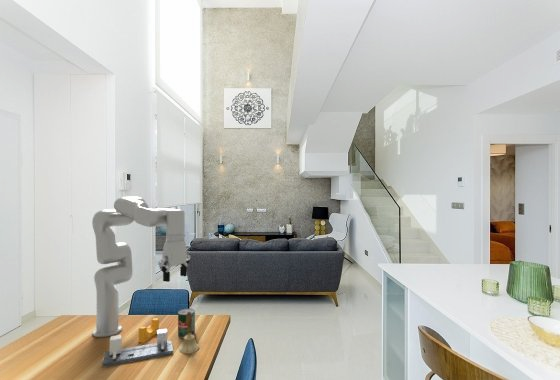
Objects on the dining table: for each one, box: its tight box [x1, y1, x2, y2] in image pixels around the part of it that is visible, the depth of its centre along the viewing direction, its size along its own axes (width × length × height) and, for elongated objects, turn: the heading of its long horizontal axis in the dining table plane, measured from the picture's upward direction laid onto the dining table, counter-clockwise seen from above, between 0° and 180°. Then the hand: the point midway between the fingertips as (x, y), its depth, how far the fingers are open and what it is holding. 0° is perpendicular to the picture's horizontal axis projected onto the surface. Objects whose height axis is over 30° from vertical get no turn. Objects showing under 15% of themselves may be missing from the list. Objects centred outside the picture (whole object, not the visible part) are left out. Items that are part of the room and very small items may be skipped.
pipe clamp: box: [138, 317, 160, 343], centre depth 149 cm, size 12×4×6 cm, turn 169°
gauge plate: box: [101, 328, 174, 368], centre depth 132 cm, size 10×26×8 cm, turn 113°
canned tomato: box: [177, 308, 196, 339], centre depth 151 cm, size 8×8×11 cm
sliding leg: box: [109, 334, 123, 359], centre depth 128 cm, size 8×4×6 cm, turn 23°
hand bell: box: [178, 312, 200, 355], centre depth 137 cm, size 8×8×16 cm
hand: (175, 278), depth 134 cm, fingers open, 9 cm apart
